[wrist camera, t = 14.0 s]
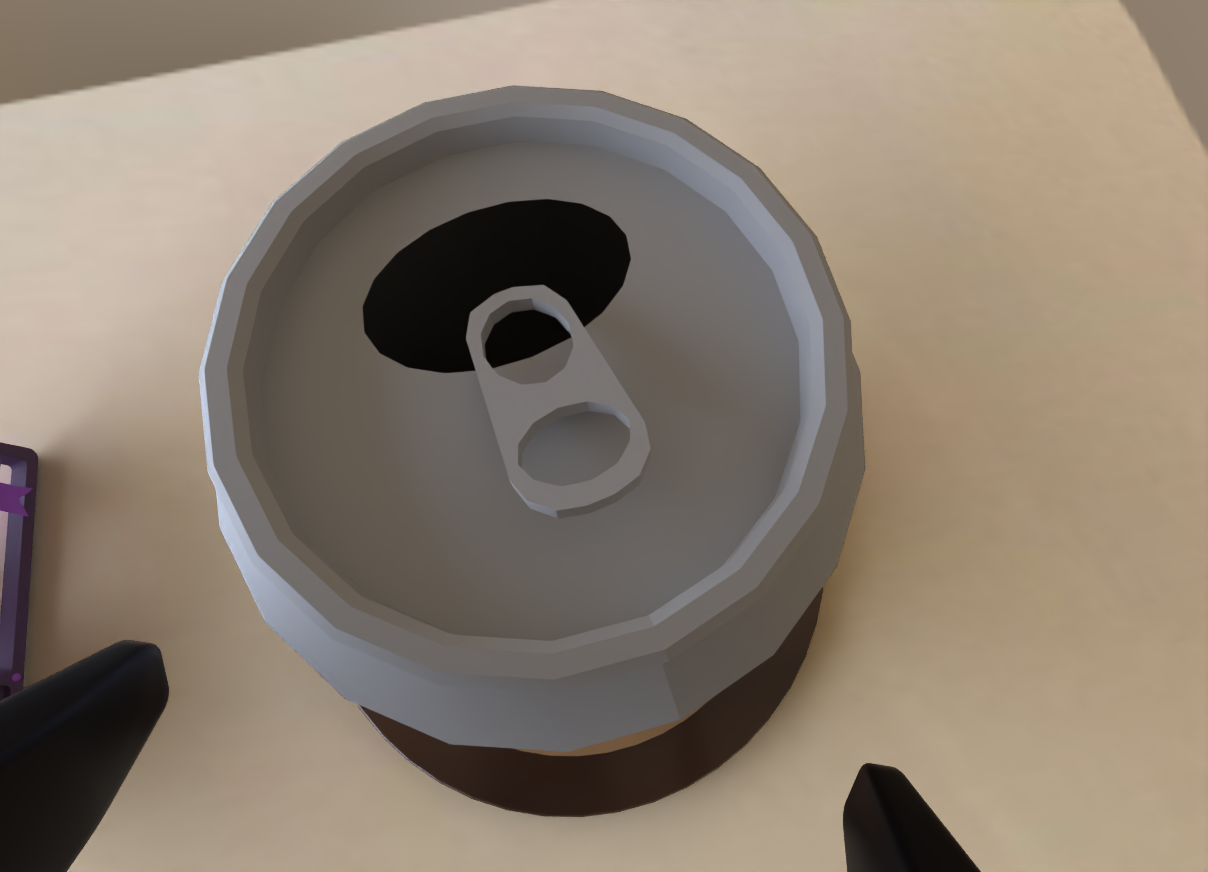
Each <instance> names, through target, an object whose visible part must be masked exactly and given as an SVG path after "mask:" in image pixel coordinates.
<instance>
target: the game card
mask: <svg viewBox="0 0 1208 872" xmlns="http://www.w3.org/2000/svg"><path fill="white" fill-rule="evenodd" d="M0 464H4V465H8V466H10V467H11V469H12V474H11V485H9V484H4V483H0V510H1V511H5V512H9V513H8V526H7V538H6V551H5V564H4V577H3V590H2V602H1V615H0V701H1V700H3V699H5V698H7V697H9V696H11V695H13V694H15V693H17V692H19V691H21V690H23V678H24V663H25V648H26V633H27V618H28V604H29V589H30V574H31V559H32V544H33V529H34V514H35V499H36V484H37V469H38V456H37V454H36V453H35V451H33V450H32V449H29V448H25V447H20V446H15V445H10V444H5V443H0Z"/></svg>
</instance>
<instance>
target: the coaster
mask: <svg viewBox="0 0 1208 872" xmlns="http://www.w3.org/2000/svg"><path fill="white" fill-rule="evenodd" d="M822 593H823V587H822V588H821V589H820V591H819V592H818V594H817V595H816V596H815V598H814V599H813V601H812V602H811V603H810V605H809V606H808V608H807V609H806V610H805V612H804V613H803V615H802V616H801V617H800V619H799V620H798V622H797V623H796V624H795V626H794V627H793V629H792V630H791V631H790V633H789V634H788V636H787V637H786V638H785V640H784V641H783V643H782V644H781V645H780V647H779V648H778V650H777V651H776V652H775V654H774V655H773V656H771V657H770V658H768V659H767V660H766V661H764V662H763V663H761V664H760V665H758V666H757V667H756V668H754V669H753V670H751V671H750V672H748V673H747V674H746V675H744V676H743V677H741V678H740V679H738V680H737V681H736V682H734V683H733V684H731V685H730V686H728V687H727V688H726V689H724V690H723V691H721V692H720V693H718V694H717V695H716V696H714V697H713V698H711V699H710V700H708V701H707V702H706V703H704V704H703V705H701V706H700V707H699V708H697V709H696V710H694V711H693V712H691V713H690V714H689V715H687V716H686V717H684V718H683V719H681V720H679V721H676V722H672V723H668V724H665V725H661V726H658V727H654V728H651V729H647V730H644V731H640V732H636V733H633V734H629V735H626V736H622V737H619V738H615V739H612V740H608V741H605V742H601V743H597V744H594V745H590V746H587V747H583V748H580V749H576V750H573V751H569V752H561V751H546V750H530V749H515V748H500V747H484V746H469V745H453V744H448V743H446V742H444V741H441V740H439V739H437V738H434V737H432V736H430V735H427V734H425V733H423V732H421V731H418V730H416V729H414V728H411V727H409V726H407V725H405V724H402V723H400V722H398V721H395V720H393V719H391V718H388V717H386V716H384V715H382V714H379V713H377V712H375V711H372V710H370V709H368V708H366V707H363V706H361V705H359V704H358V706H359V708H360V709H361V711H362V712H363V713H364V714H365V716H366V717H367V718H368V719H369V721H370V722H371V723H372V724H373V726H374V727H375V728H376V729H377V731H378V732H379V733H380V734H381V735H382V737H383V738H384V739H385V740H386V741H387V742H388V743H390V744H391V745H392V746H393V747H394V748H395V749H396V750H397V751H398V752H399V753H400V754H401V755H402V756H404V757H405V758H406V759H407V760H408V761H409V762H410V763H412V764H413V765H414V766H416V767H417V768H419V769H420V770H422V771H423V772H425V773H426V774H428V775H429V776H430V777H432V778H433V779H435V780H436V781H438V782H439V783H441V784H443V785H445V786H447V787H449V788H451V789H453V790H455V791H457V792H459V793H461V794H463V795H465V796H467V797H469V798H471V799H474V800H477V801H480V802H483V803H486V804H490V805H493V806H496V807H499V808H502V809H505V810H509V811H515V812H521V813H527V814H533V815H539V816H552V817H585V816H593V815H601V814H609V813H616V812H621V811H624V810H628V809H632V808H635V807H639V806H642V805H646V804H649V803H653V802H656V801H658V800H660V799H662V798H665V797H667V796H669V795H671V794H674V793H676V792H678V791H680V790H683V789H685V788H687V787H689V786H690V785H692V784H694V783H695V782H697V781H698V780H700V779H702V778H703V777H705V776H706V775H708V774H710V773H711V772H713V771H714V770H716V769H718V768H719V767H720V766H721V765H723V764H724V763H725V762H726V761H727V760H729V759H730V758H731V757H732V756H733V755H734V754H736V753H737V752H738V751H739V750H740V749H742V748H743V747H744V746H745V745H746V744H747V743H748V742H749V741H750V740H751V739H752V738H753V736H754V735H755V734H756V733H757V732H758V731H759V730H760V729H761V728H762V726H763V725H764V724H765V723H766V722H767V721H768V720H769V719H770V717H771V716H772V714H773V713H774V711H775V710H776V709H777V707H778V706H779V704H780V703H781V701H782V700H783V698H784V697H785V695H786V694H787V692H788V691H789V689H790V688H791V686H792V683H793V681H794V679H795V677H796V675H797V673H798V671H799V669H800V667H801V665H802V663H803V661H804V659H805V657H806V654H807V651H808V648H809V645H810V642H811V639H812V636H813V633H814V630H815V627H816V624H817V619H818V614H819V608H820V603H821V598H822Z"/></svg>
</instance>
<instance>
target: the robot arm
mask: <svg viewBox="0 0 1208 872" xmlns="http://www.w3.org/2000/svg"><path fill="white" fill-rule="evenodd" d="M168 697H169V685H168V681H167V676H166V672H165V668H164V663H163V659H162V654H161V651H160V649H159V648H158V647H157V646H156V645H155V644H152V643H147V642H141V641H135V640H122V641H119V642H117V643H114V644H112V645H110V646H108V647H106V648H104V649H102V650H100V651H98V652H97V653H95V654H93V655H91V656H89V657H87V658H85V659H83V660H81V661H79V662H77V663H75V664H73V665H71V666H69V667H67V668H65V669H63V670H61V671H59V672H57V673H55V674H53V675H51V676H49V677H47V678H45V679H43V680H41V681H39V682H37V683H35V684H33V685H31V686H29V687H27V688H25V689H23V690H21V691H19V692H17V693H15V694H13V695H11V696H9V697H7V698H5V699H3V700H1V701H0V872H67V871H68V869H69V868H70V866H71V865H72V863H73V862H74V860H75V859H76V857H77V856H78V855H79V853H80V852H81V850H82V849H83V847H84V846H85V844H86V843H87V841H88V840H89V838H90V837H91V835H92V834H93V832H94V831H95V829H96V828H97V826H98V825H99V823H100V821H101V820H102V818H103V816H104V815H105V813H106V811H107V810H108V808H109V806H110V805H111V803H112V801H113V799H114V798H115V796H116V794H117V792H118V790H119V789H120V787H121V785H122V783H123V782H124V780H125V778H126V776H127V775H128V773H129V771H130V769H131V767H132V766H133V764H134V762H135V760H136V759H137V757H138V755H139V753H140V752H141V750H142V748H143V746H144V744H145V743H146V741H147V739H148V737H149V736H150V734H151V732H152V730H153V728H154V727H155V725H156V723H157V721H158V720H159V718H160V716H161V714H162V713H163V711H164V709H165V707H166V704H167V701H168ZM843 829H844V840H845V852H846V863H847V872H981V871H980V870H979V869H978V867H977V866H976V865H975V864H974V862H973V861H972V860H971V859H970V857H969V856H968V855H967V854H966V852H965V851H964V850H963V849H962V847H961V846H960V845H959V843H958V842H957V841H956V840H955V838H954V837H953V836H952V835H951V833H950V832H949V831H948V830H947V828H946V827H945V826H944V825H943V823H942V822H941V821H940V819H939V818H938V817H937V816H936V814H935V813H934V812H933V811H932V809H931V808H930V807H929V806H928V804H927V803H926V802H925V801H924V799H923V798H922V797H921V795H920V794H919V793H918V792H917V790H916V789H915V788H914V787H913V785H912V784H911V783H910V782H909V780H908V779H907V778H906V777H905V775H904V774H903V773H902V772H901V771H899V770H898V769H897V768H894V767H890V766H884V765H878V764H872V763H866V764H864V765H863V766H862V767H861V769H860V770H859V772H858V775H857V777H856V779H855V782H854V784H853V786H852V789H851V791H850V793H849V796H848V798H847V800H846V803H845V806H844V812H843Z"/></svg>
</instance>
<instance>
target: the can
mask: <svg viewBox="0 0 1208 872" xmlns="http://www.w3.org/2000/svg"><path fill="white" fill-rule="evenodd" d="M198 375H199V386H200V396H201V407H202V418H203V428H204V439H205V449H206V460H207V470H208V474H209V476H210V478H211V480H212V482H213V484H214V486H215V488H216V496H217V507H218V517H219V527H220V529H221V532H222V534H223V536H224V538H225V540H226V542H227V544H228V546H229V548H230V550H231V552H232V554H233V557H234V559H235V561H236V563H237V565H238V567H239V569H240V571H241V573H242V575H243V577H244V579H245V581H246V584H247V586H248V588H249V590H250V592H251V594H252V596H253V598H254V600H255V602H256V604H257V606H258V608H259V611H260V613H261V615H262V617H263V619H264V621H265V622H266V623H267V624H268V625H269V626H270V627H271V628H272V629H273V630H274V631H275V632H276V633H277V634H278V635H279V636H280V637H281V638H282V639H283V640H284V641H285V642H286V643H287V644H288V645H289V646H291V647H292V648H293V649H294V650H295V651H296V652H297V653H298V654H299V655H300V656H301V657H302V658H303V659H304V660H305V661H306V662H307V663H308V664H309V665H310V666H311V667H312V668H313V669H314V670H316V671H317V672H318V673H319V674H320V675H321V676H322V677H323V678H324V679H325V680H326V681H327V682H328V683H329V684H330V685H331V686H332V687H333V688H334V689H335V690H336V691H337V692H338V693H339V694H341V695H342V696H343V697H344V698H345V699H347V700H349V701H352V702H354V703H356V704H359V705H361V706H363V707H366V708H368V709H370V710H372V711H375V712H377V713H379V714H382V715H384V716H386V717H388V718H391V719H393V720H395V721H398V722H400V723H402V724H405V725H407V726H409V727H411V728H414V729H416V730H418V731H421V732H423V733H425V734H427V735H430V736H432V737H434V738H437V739H439V740H441V741H444V742H446V743H448V744H453V745H469V746H484V747H500V748H515V749H530V750H546V751H561V752H569V751H573V750H576V749H580V748H583V747H587V746H590V745H594V744H597V743H601V742H605V741H608V740H612V739H615V738H619V737H622V736H626V735H629V734H633V733H636V732H640V731H644V730H647V729H651V728H654V727H658V726H661V725H665V724H668V723H672V722H676V721H679V720H681V719H683V718H684V717H686V716H687V715H689V714H690V713H691V712H693V711H694V710H696V709H697V708H699V707H700V706H701V705H703V704H704V703H706V702H707V701H708V700H710V699H711V698H713V697H714V696H716V695H717V694H718V693H720V692H721V691H723V690H724V689H726V688H727V687H728V686H730V685H731V684H733V683H734V682H736V681H737V680H738V679H740V678H741V677H743V676H744V675H746V674H747V673H748V672H750V671H751V670H753V669H754V668H756V667H757V666H758V665H760V664H761V663H763V662H764V661H766V660H767V659H768V658H770V657H771V656H773V655H774V654H775V652H776V651H777V650H778V648H779V647H780V645H781V644H782V643H783V641H784V640H785V638H786V637H787V636H788V634H789V633H790V631H791V630H792V629H793V627H794V626H795V624H796V623H797V622H798V620H799V619H800V617H801V616H802V615H803V613H804V612H805V610H806V609H807V608H808V606H809V605H810V603H811V602H812V601H813V599H814V598H815V596H816V595H817V594H818V592H819V591H820V589H821V588H822V587H823V585H824V584H825V583H826V581H827V580H828V578H829V577H830V576H831V574H832V573H833V571H834V570H835V569H836V567H837V564H838V561H839V557H840V554H841V550H842V547H843V544H844V540H845V537H846V533H847V530H848V526H849V523H850V520H851V516H852V513H853V509H854V506H855V502H856V499H857V495H858V492H859V489H860V485H861V482H862V478H863V475H864V471H865V455H864V436H863V416H862V397H861V377H860V371H859V368H858V365H857V363H856V360H855V358H854V355H853V353H852V338H851V321H850V318H849V316H848V313H847V311H846V308H845V306H844V303H843V301H842V298H841V296H840V293H839V291H838V288H837V286H836V283H835V281H834V278H833V276H832V273H831V271H830V268H829V266H828V263H827V261H826V258H825V256H824V253H823V251H822V248H821V246H820V243H819V241H818V238H817V236H816V235H815V234H814V233H813V231H812V230H811V229H810V228H809V227H808V225H807V224H806V223H805V222H804V221H803V219H802V218H801V217H800V216H799V215H798V213H797V212H796V211H795V210H794V208H793V207H792V206H791V205H790V204H789V202H788V201H787V200H786V199H785V198H784V196H783V195H782V194H781V193H780V192H779V190H778V189H777V188H776V187H775V186H774V184H773V183H772V182H771V181H770V179H769V178H768V177H767V176H766V175H765V173H764V172H763V171H762V170H761V169H760V168H759V167H758V166H756V165H755V164H753V163H752V162H750V161H749V160H747V159H746V158H744V157H743V156H741V155H740V154H738V153H737V152H735V151H734V150H732V149H731V148H729V147H728V146H726V145H725V144H723V143H722V142H720V141H719V140H717V139H716V138H714V137H713V136H711V135H710V134H708V133H707V132H705V131H704V130H702V129H701V128H699V127H698V126H696V125H695V124H693V123H692V122H690V121H689V120H687V119H685V118H682V117H679V116H676V115H673V114H670V113H667V112H664V111H661V110H658V109H655V108H652V107H649V106H646V105H643V104H640V103H637V102H634V101H631V100H628V99H625V98H622V97H619V96H616V95H612V94H609V93H606V92H603V91H594V90H577V89H561V88H544V87H528V86H507V87H502V88H497V89H492V90H487V91H482V92H477V93H471V94H466V95H461V96H456V97H451V98H446V99H441V100H435V101H430V102H425V103H422V104H420V105H418V106H416V107H414V108H412V109H410V110H408V111H405V112H403V113H401V114H399V115H397V116H395V117H393V118H391V119H389V120H387V121H385V122H383V123H381V124H378V125H376V126H374V127H372V128H370V129H368V130H366V131H364V132H362V133H360V134H358V135H356V136H354V137H351V138H349V139H347V140H345V141H343V142H341V143H340V144H339V145H338V146H336V147H335V148H334V149H333V150H332V151H331V152H330V153H328V154H327V155H326V156H325V157H324V158H323V159H322V160H320V161H319V162H318V163H317V164H316V165H315V166H314V167H312V168H311V169H310V170H309V171H308V172H307V173H306V174H304V175H303V176H302V177H301V178H300V179H299V180H298V181H296V182H295V183H294V184H293V185H292V186H291V187H290V188H288V189H287V190H286V191H285V192H284V193H283V194H282V195H280V196H279V197H278V198H277V199H276V200H275V201H273V202H272V203H271V205H270V206H269V208H268V210H267V211H266V213H265V214H264V216H263V218H262V219H261V221H260V222H259V224H258V225H257V227H256V229H255V230H254V232H253V233H252V235H251V237H250V238H249V240H248V241H247V243H246V244H245V246H244V248H243V249H242V251H241V252H240V254H239V256H238V257H237V259H236V260H235V262H234V263H233V265H232V267H231V268H230V270H229V271H228V273H227V275H226V276H225V278H224V279H223V281H222V283H221V287H220V291H219V295H218V299H217V303H216V307H215V311H214V315H213V319H212V323H211V327H210V330H209V334H208V338H207V342H206V346H205V350H204V354H203V358H202V362H201V366H200V370H199V374H198Z"/></svg>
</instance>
